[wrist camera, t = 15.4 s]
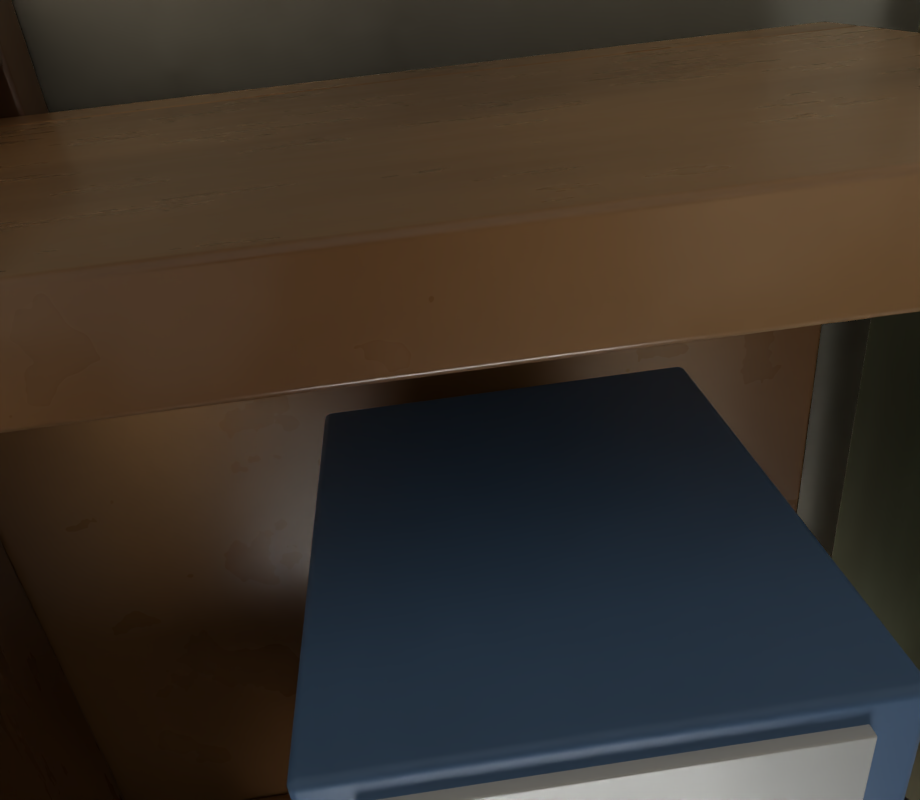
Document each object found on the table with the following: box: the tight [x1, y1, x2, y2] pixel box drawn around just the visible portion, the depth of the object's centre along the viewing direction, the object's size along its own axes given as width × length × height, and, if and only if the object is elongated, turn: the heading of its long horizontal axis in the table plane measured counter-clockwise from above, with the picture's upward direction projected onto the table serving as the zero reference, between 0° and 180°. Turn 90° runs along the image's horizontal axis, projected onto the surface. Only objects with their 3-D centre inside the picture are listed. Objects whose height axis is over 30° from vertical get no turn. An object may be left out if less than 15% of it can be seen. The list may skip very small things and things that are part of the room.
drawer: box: [0, 22, 920, 800], centre depth 9 cm, size 19×13×7 cm
